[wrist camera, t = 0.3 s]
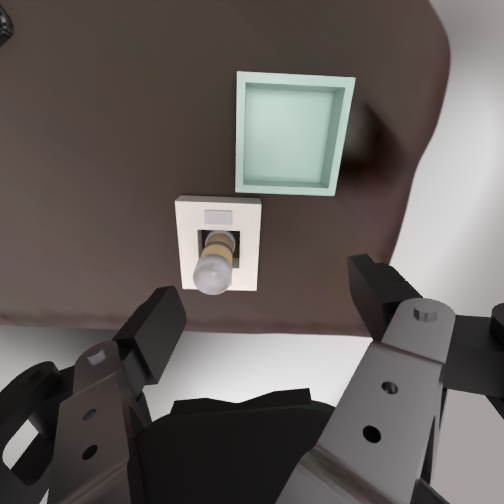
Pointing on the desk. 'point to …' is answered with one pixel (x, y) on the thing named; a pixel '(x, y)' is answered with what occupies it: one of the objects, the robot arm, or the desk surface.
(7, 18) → the phone
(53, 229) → the desk surface
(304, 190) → the parts tray
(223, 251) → the white and tan cylinder
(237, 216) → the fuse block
